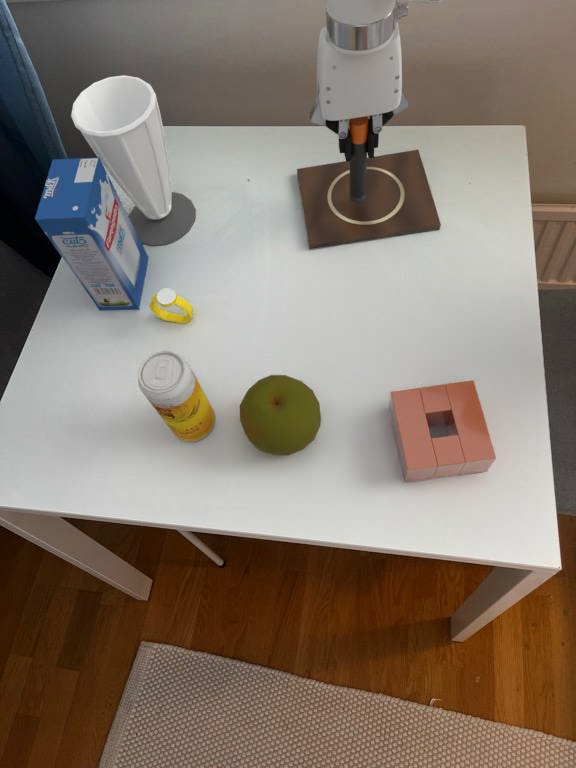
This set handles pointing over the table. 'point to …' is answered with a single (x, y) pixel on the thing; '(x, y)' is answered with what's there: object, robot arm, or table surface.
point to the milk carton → (93, 232)
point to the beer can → (176, 395)
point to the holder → (443, 454)
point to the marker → (358, 158)
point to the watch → (168, 299)
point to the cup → (135, 154)
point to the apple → (280, 415)
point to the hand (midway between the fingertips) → (358, 152)
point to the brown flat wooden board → (367, 201)
